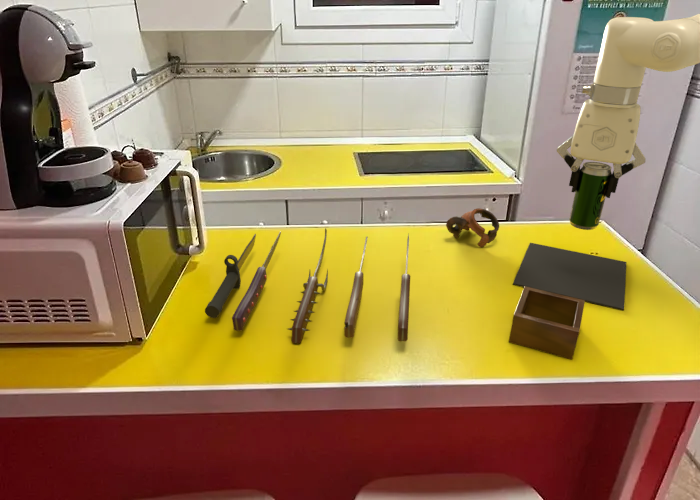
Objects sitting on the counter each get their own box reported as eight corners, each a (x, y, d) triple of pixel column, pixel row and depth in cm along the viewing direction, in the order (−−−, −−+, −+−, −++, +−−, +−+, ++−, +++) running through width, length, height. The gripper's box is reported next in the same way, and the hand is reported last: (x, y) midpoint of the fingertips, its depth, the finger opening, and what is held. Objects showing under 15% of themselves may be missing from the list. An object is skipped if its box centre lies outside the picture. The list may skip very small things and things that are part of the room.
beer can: (568, 227, 100) (581, 168, 95) (568, 217, 105) (581, 160, 99) (598, 232, 99) (614, 172, 93) (597, 221, 103) (612, 163, 97)
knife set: (411, 252, 112) (412, 220, 108) (406, 355, 84) (408, 317, 80) (254, 245, 116) (250, 214, 112) (199, 341, 88) (191, 304, 84)
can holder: (578, 326, 91) (585, 300, 88) (572, 359, 83) (579, 331, 80) (519, 311, 94) (524, 286, 92) (508, 342, 87) (513, 314, 84)
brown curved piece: (476, 228, 127) (495, 206, 121) (488, 259, 122) (508, 238, 116) (434, 222, 122) (451, 199, 116) (444, 254, 117) (463, 232, 111)
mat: (626, 263, 111) (626, 261, 111) (623, 310, 95) (624, 309, 95) (529, 243, 119) (530, 242, 118) (512, 284, 103) (512, 283, 103)
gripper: (559, 94, 90) (540, 191, 99) (671, 104, 84) (640, 207, 92) (564, 87, 96) (546, 179, 105) (669, 96, 90) (640, 194, 98)
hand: (591, 191), depth 98 cm, fingers closed on beer can, 5 cm apart
